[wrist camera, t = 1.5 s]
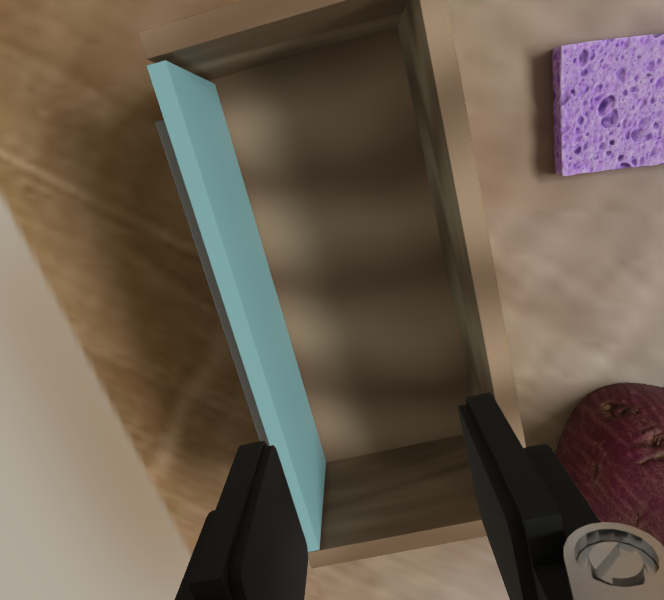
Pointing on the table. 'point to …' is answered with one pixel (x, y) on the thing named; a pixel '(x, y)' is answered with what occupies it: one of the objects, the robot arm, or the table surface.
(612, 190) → the table surface
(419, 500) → the tray
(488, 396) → the robot arm
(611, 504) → the vegetable
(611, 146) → the sponges
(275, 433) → the panel
